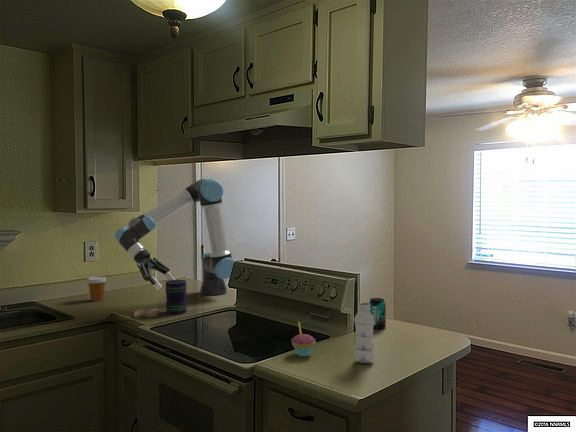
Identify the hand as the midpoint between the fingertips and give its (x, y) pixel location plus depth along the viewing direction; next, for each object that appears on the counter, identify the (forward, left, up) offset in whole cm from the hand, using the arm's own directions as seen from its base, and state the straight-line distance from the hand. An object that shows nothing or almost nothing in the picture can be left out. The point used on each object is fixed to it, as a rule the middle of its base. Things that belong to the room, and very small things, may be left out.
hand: (167, 285), depth 239 cm
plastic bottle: (-67, +87, -13) cm, 111 cm away
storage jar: (-4, +1, -13) cm, 14 cm away
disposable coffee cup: (+38, -37, -13) cm, 55 cm away
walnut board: (+10, +1, -13) cm, 16 cm away
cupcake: (-49, +74, -13) cm, 90 cm away
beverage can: (-87, +49, -13) cm, 101 cm away
